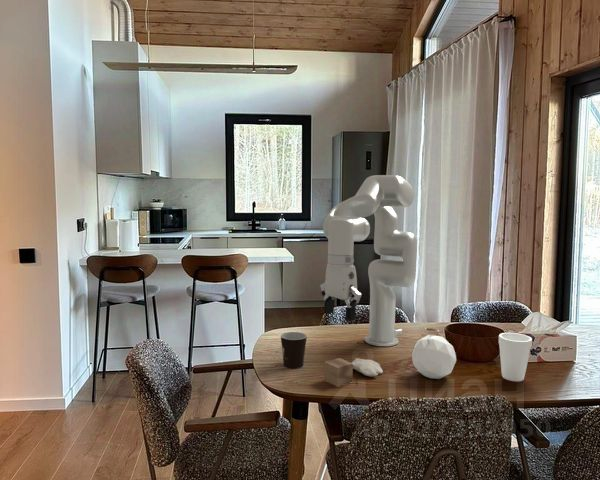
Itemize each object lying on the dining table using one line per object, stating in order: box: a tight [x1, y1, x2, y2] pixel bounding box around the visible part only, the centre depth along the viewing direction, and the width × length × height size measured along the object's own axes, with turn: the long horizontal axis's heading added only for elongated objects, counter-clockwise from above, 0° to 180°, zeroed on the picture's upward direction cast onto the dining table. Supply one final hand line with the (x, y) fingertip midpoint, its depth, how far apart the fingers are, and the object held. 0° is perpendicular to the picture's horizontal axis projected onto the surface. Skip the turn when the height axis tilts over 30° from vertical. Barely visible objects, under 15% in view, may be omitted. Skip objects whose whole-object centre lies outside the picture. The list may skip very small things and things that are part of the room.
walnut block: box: [323, 357, 354, 388], centre depth 151 cm, size 6×6×6 cm
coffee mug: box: [280, 331, 308, 370], centre depth 166 cm, size 12×9×10 cm
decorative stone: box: [351, 357, 384, 377], centre depth 161 cm, size 11×4×15 cm
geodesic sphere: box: [411, 333, 457, 380], centre depth 155 cm, size 14×14×14 cm
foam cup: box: [498, 332, 533, 382], centre depth 155 cm, size 10×9×13 cm
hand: (339, 316), depth 149 cm, fingers open, 9 cm apart
